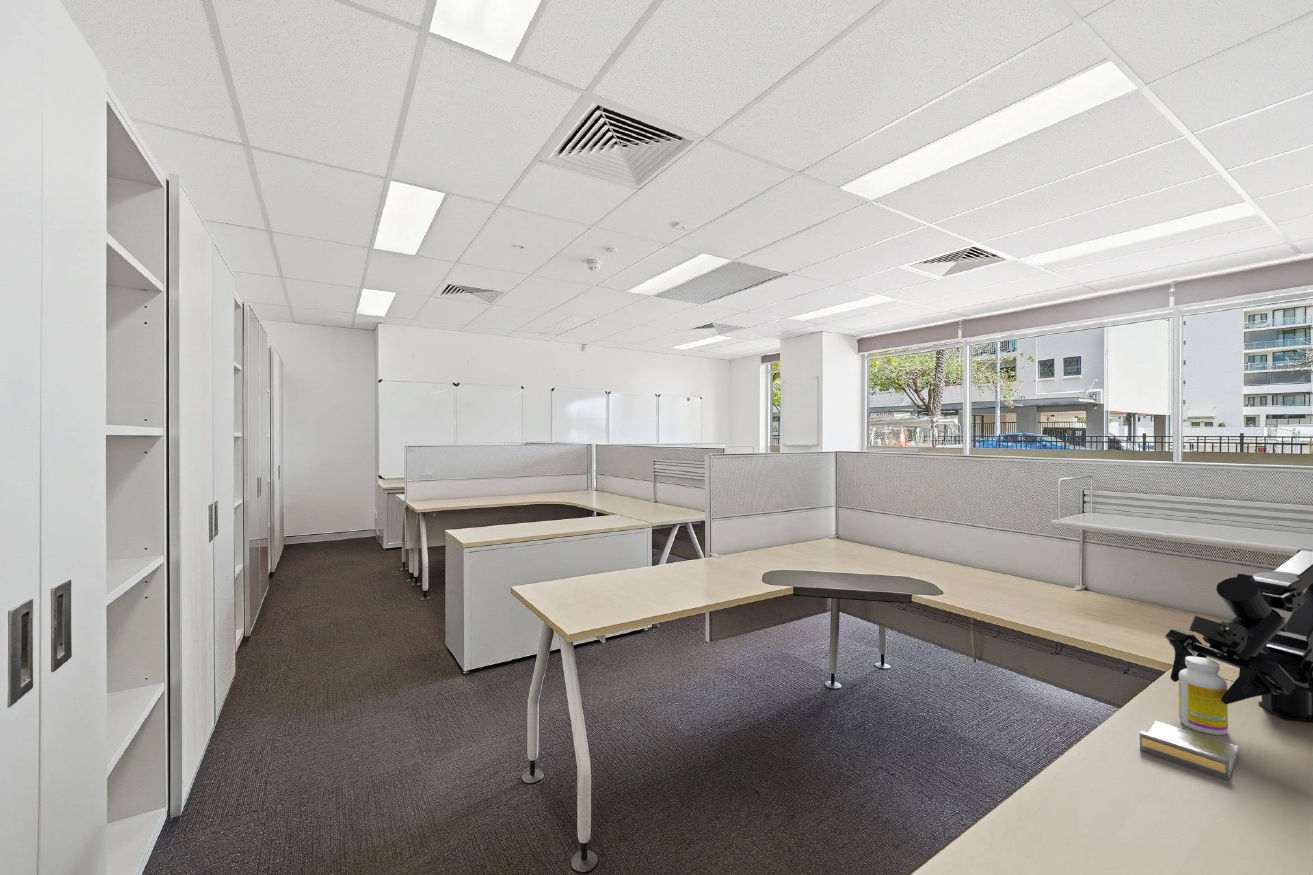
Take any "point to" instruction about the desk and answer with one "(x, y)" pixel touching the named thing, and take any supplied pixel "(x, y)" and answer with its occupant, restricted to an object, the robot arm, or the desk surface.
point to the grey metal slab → (1190, 749)
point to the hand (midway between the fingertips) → (1196, 690)
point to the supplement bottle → (1202, 696)
